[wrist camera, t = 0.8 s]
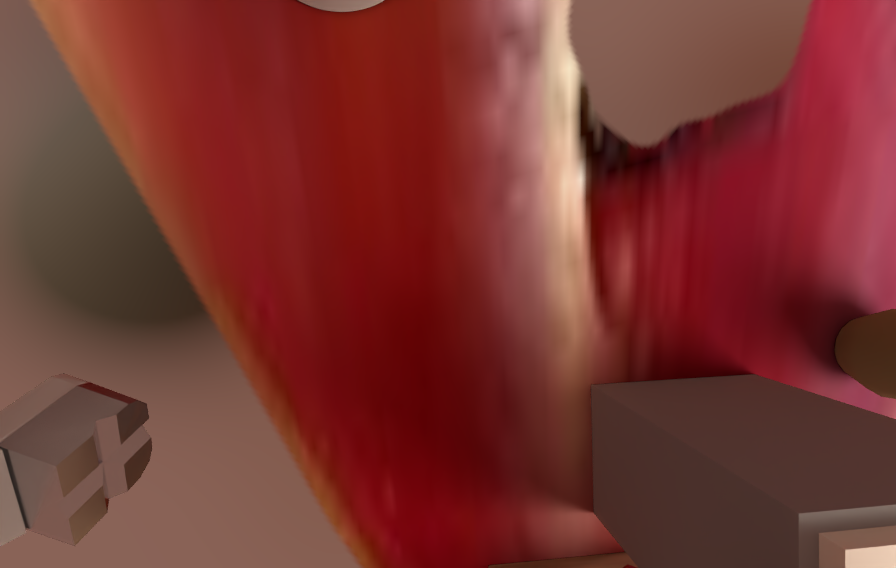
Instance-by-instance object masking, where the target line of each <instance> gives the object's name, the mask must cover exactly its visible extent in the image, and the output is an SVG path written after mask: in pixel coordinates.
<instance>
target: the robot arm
mask: <svg viewBox="0 0 896 568" xmlns="http://www.w3.org/2000/svg"><path fill="white" fill-rule="evenodd" d="M298 1H300V2H302V3H304V4H307V5H309V6H312V7H315V8H318V9H322V10H327V11H335V12H349V11H356V10H361V9H365V8H369V7H371V6H374V5H376V4H378V3H380V2H382V1H384V0H298ZM148 419H149V415H148V409H147V404H146V403H144V402H141V401H138V400H136V399H133V398H131V397H128V396H125V395H122V394H120V393H117V392H114V391H112V390H109V389H106V388H104V387H100V386H98V385H95V384H93V383H90V382H87V381H84V380H81V379H79V378H76V377H73V376H70V375H67V374H64V373H63V374H59V375H55V376H51V377H50V378H48V379H47V380H45V381H44V382H43V383H41V384H40V385H38V386H37V387H35V388H34V389H33V390H31V391H29V392H28V393H27V394H25V395H24V396H22V397H21V398H19V399H18V400H16V401H15V402H13V403H12V404H10V405H9V406H8V407H6V408H5V409H3V410H2V411H0V546H2V545H4V544H6V543H7V542H9V541H11V540H13V539H15V538H17V537H19V536H21V535H23V534H25V533H26V532H27V531H26V530H29V531H33V532H35V533H38V534H41V535H44V536H47V537H50V538H53V539H56V540H59V541H61V542H65V543H67V544H70V545H73V546H75V545H76V544H77V543H78V542H79V541H80V540H81V539H82V538H83V537H84V536H85V535H86V534H87V533H88V532H89V531H90V530H91V529H92V527H94V525H95V524H96V523H97V522H98V521H99V520H100V519H101V518H102V517H103V516H104V515H105V514H106V513H107V510H108V503H109V499H110V498H112V497H114V496H117V495H119V494H122V493H124V492H126V491H128V490H129V489H130V488H131V487H132V486H133V485H134V484H135V483H136V481H137V480H138V479H139V478H140V477H141V475H142V473H143V471H144V470H145V468H146V466H147V464H148V462H149V460H150V456H151V451H152V441H151V437H150V435H149V434H148V433H147V431H146V430H145V428H144V427H143V426H142V425H143V424H144V423H145V421H147V420H148ZM623 568H637V567H634V566H631V565H628V564H627V565H626V566H624V567H623Z"/></svg>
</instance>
